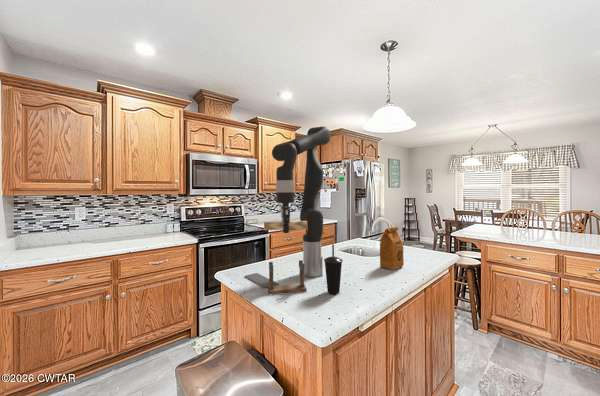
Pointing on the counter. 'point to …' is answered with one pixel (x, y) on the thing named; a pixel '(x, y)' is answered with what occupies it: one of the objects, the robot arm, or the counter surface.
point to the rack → (287, 288)
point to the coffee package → (391, 249)
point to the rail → (280, 225)
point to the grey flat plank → (260, 280)
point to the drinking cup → (333, 273)
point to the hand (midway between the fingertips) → (285, 232)
